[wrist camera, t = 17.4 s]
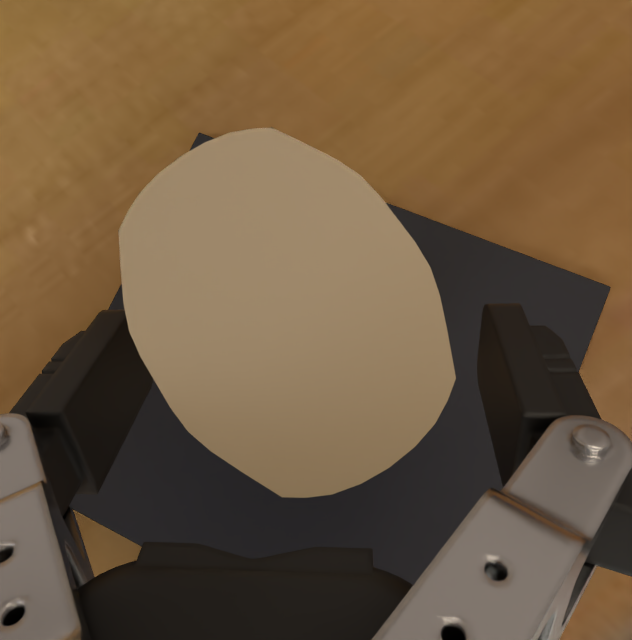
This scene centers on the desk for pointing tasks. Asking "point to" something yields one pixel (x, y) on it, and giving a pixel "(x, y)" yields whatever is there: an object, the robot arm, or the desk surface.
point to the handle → (284, 313)
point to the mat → (386, 487)
